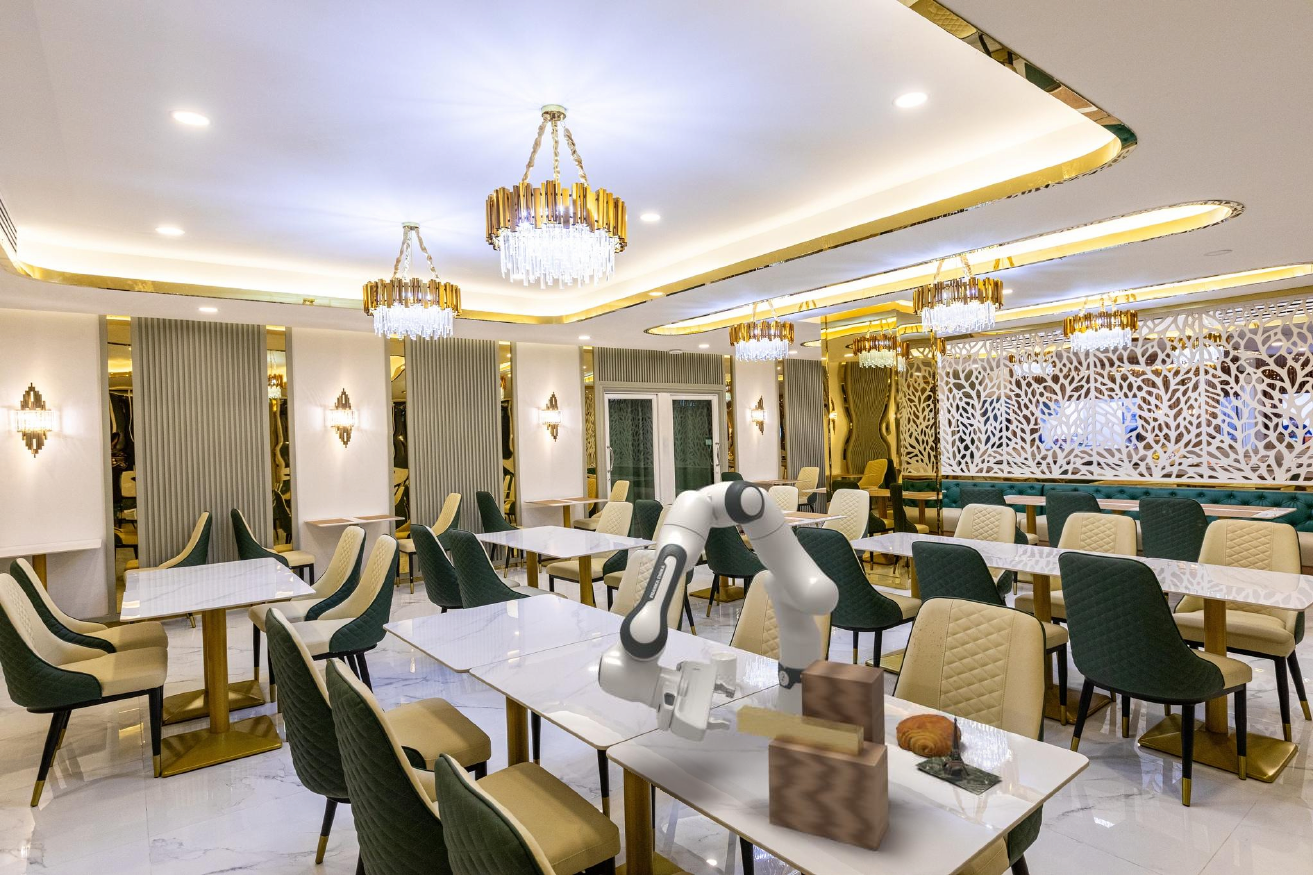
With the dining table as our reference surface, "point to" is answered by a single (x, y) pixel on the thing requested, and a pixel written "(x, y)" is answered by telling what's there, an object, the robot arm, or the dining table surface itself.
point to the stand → (835, 761)
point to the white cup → (725, 667)
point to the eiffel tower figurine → (959, 769)
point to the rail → (801, 730)
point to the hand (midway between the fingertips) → (732, 709)
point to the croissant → (927, 734)
